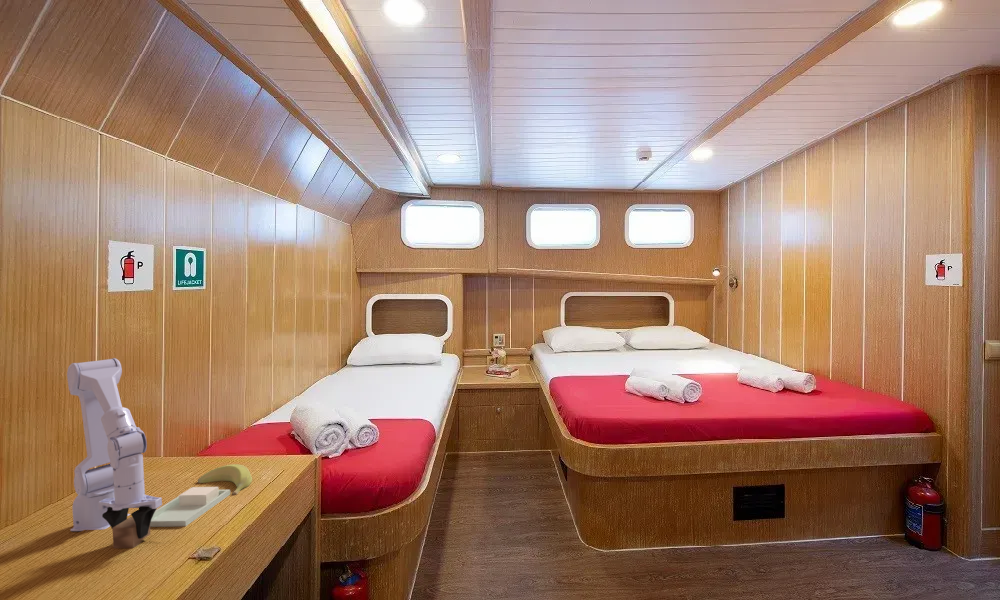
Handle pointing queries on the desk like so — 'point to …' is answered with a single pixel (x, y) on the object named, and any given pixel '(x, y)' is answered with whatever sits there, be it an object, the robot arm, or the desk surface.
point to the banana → (229, 476)
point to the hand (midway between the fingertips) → (132, 536)
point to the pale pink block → (198, 496)
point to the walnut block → (126, 534)
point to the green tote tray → (182, 512)
